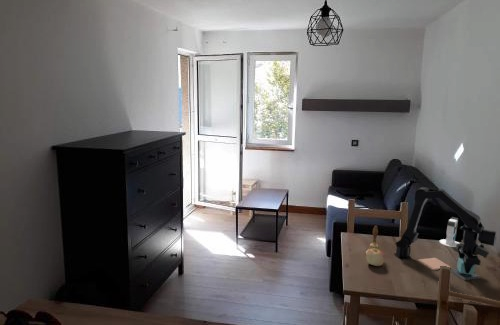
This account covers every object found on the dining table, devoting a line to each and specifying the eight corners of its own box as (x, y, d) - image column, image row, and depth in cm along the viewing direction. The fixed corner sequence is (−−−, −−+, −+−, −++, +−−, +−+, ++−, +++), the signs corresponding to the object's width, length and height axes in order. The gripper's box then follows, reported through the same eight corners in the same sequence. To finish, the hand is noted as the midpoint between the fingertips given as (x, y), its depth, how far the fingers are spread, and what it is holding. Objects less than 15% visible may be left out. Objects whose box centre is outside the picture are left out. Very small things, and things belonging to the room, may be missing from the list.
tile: (432, 270, 192) (432, 268, 191) (417, 260, 202) (417, 259, 202) (450, 268, 194) (450, 266, 194) (435, 259, 205) (435, 257, 205)
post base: (464, 280, 182) (466, 268, 181) (450, 271, 191) (451, 260, 190) (479, 278, 185) (481, 266, 184) (465, 269, 193) (466, 258, 192)
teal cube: (473, 274, 184) (475, 264, 183) (460, 273, 185) (461, 263, 184) (470, 269, 189) (471, 259, 188) (457, 267, 191) (458, 257, 190)
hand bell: (362, 252, 211) (364, 224, 208) (374, 250, 214) (376, 222, 211) (372, 258, 204) (375, 229, 201) (384, 256, 207) (387, 228, 204)
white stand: (458, 249, 219) (462, 224, 216) (437, 244, 225) (440, 219, 223) (462, 243, 228) (465, 219, 225) (441, 238, 235) (444, 214, 232)
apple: (368, 259, 202) (370, 245, 200) (385, 264, 197) (387, 249, 195) (363, 265, 195) (364, 250, 193) (380, 270, 190) (382, 255, 188)
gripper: (495, 249, 173) (490, 281, 176) (482, 235, 191) (477, 264, 194) (468, 246, 176) (463, 278, 179) (457, 232, 194) (453, 261, 197)
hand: (465, 270), depth 187 cm, fingers closed on teal cube, 6 cm apart
